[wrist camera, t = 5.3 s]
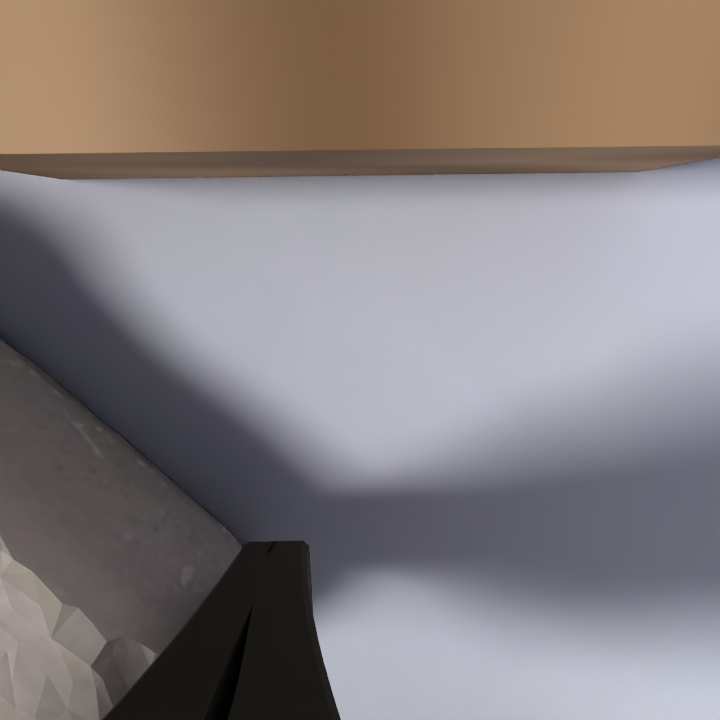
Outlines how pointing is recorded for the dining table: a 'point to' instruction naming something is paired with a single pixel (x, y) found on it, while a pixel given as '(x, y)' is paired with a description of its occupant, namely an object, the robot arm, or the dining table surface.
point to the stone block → (88, 554)
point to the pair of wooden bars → (356, 87)
